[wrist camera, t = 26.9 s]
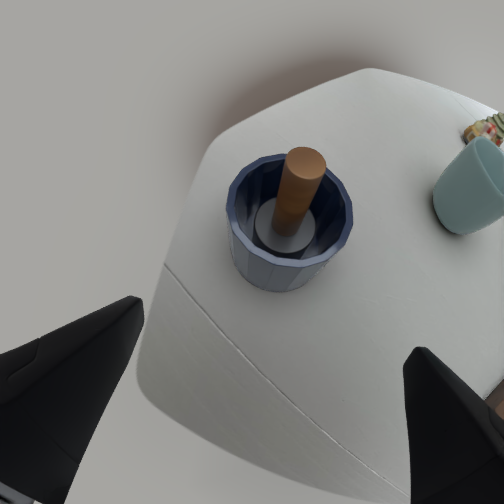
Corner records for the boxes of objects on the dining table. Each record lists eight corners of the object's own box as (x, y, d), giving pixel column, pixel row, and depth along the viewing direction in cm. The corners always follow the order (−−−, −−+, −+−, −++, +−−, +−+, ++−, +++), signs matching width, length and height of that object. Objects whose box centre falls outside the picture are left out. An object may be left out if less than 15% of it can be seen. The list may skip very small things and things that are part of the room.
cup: (437, 247, 24) (500, 206, 14) (414, 184, 26) (461, 129, 17) (476, 239, 24) (530, 204, 15) (454, 184, 27) (498, 140, 17)
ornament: (481, 167, 29) (516, 131, 19) (457, 137, 30) (488, 97, 21) (492, 155, 30) (523, 123, 21) (471, 128, 32) (498, 94, 22)
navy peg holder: (298, 308, 22) (324, 291, 14) (214, 263, 23) (201, 226, 15) (334, 231, 24) (367, 188, 17) (258, 192, 25) (264, 138, 18)
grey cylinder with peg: (314, 252, 23) (366, 179, 12) (270, 279, 22) (296, 218, 11) (285, 211, 24) (312, 120, 13) (242, 235, 23) (242, 147, 12)
